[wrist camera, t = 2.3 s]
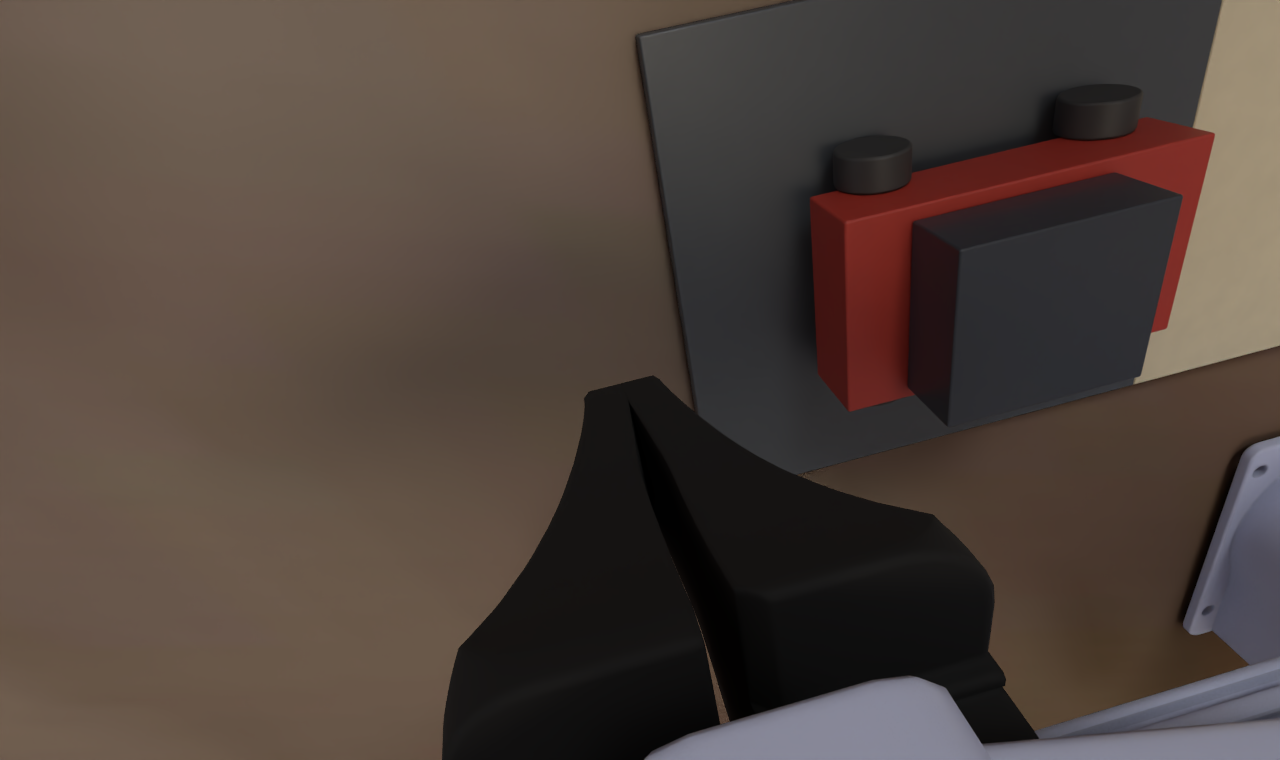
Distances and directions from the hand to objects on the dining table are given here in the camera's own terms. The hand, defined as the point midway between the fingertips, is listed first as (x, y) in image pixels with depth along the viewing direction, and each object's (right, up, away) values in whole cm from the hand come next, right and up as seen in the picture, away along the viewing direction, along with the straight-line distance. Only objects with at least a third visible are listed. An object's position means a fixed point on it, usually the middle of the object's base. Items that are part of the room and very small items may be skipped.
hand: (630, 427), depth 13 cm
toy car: (+8, +4, +4) cm, 10 cm away
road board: (+13, +6, +5) cm, 15 cm away
